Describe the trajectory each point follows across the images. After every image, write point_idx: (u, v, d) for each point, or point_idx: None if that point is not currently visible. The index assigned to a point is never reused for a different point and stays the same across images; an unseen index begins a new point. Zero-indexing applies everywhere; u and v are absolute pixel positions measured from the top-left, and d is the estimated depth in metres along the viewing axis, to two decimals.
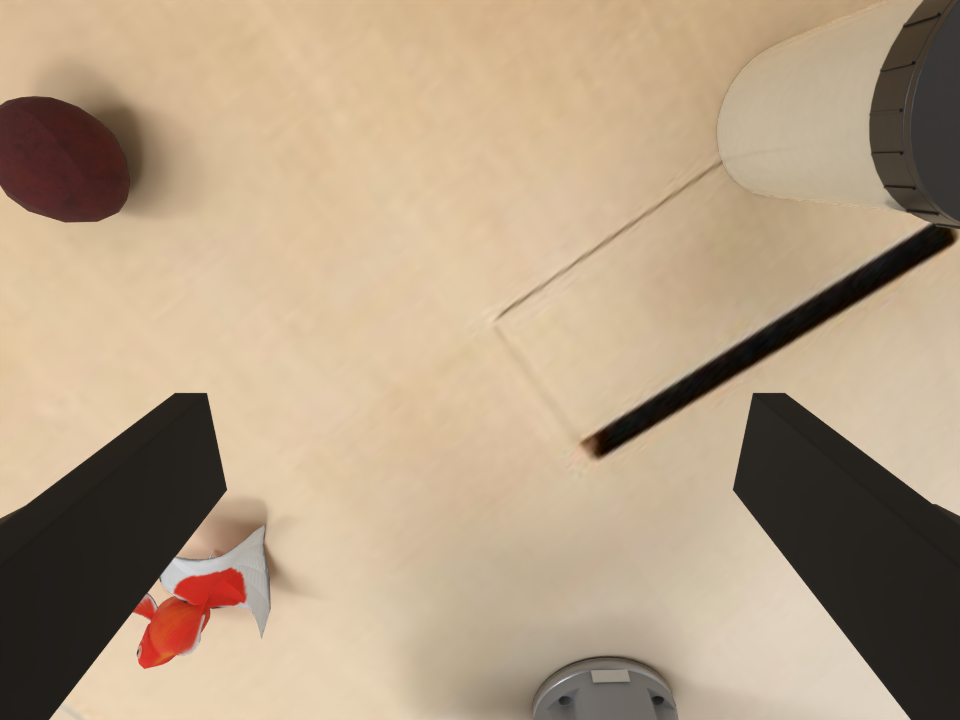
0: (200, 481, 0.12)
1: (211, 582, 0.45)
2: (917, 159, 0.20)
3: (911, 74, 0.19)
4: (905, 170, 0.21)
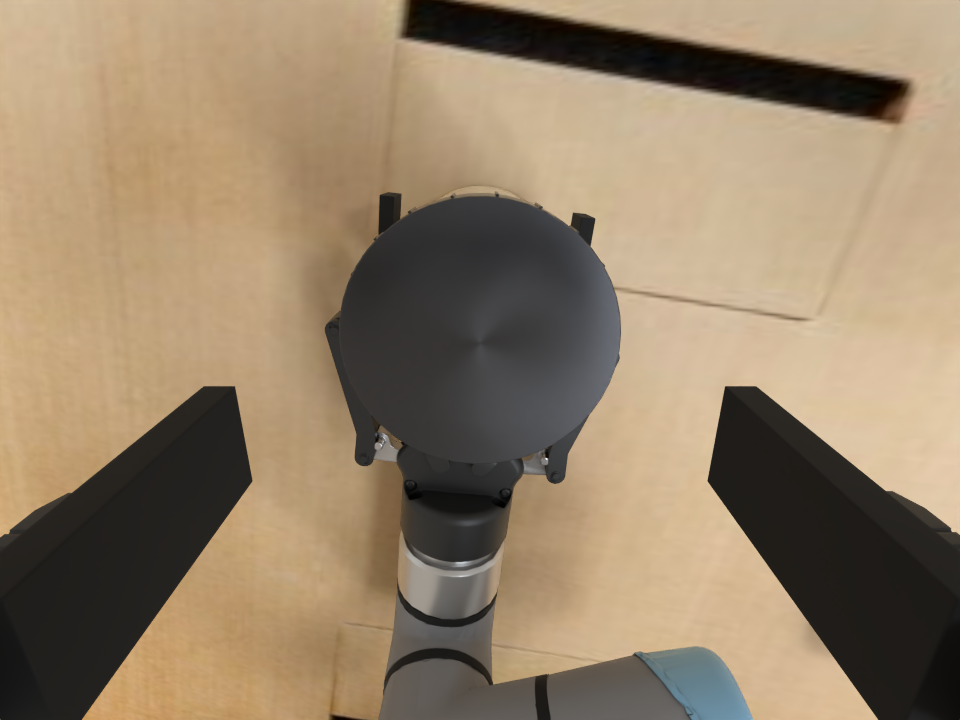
0: (229, 472, 0.12)
1: None
2: (607, 376, 0.20)
3: None
4: None
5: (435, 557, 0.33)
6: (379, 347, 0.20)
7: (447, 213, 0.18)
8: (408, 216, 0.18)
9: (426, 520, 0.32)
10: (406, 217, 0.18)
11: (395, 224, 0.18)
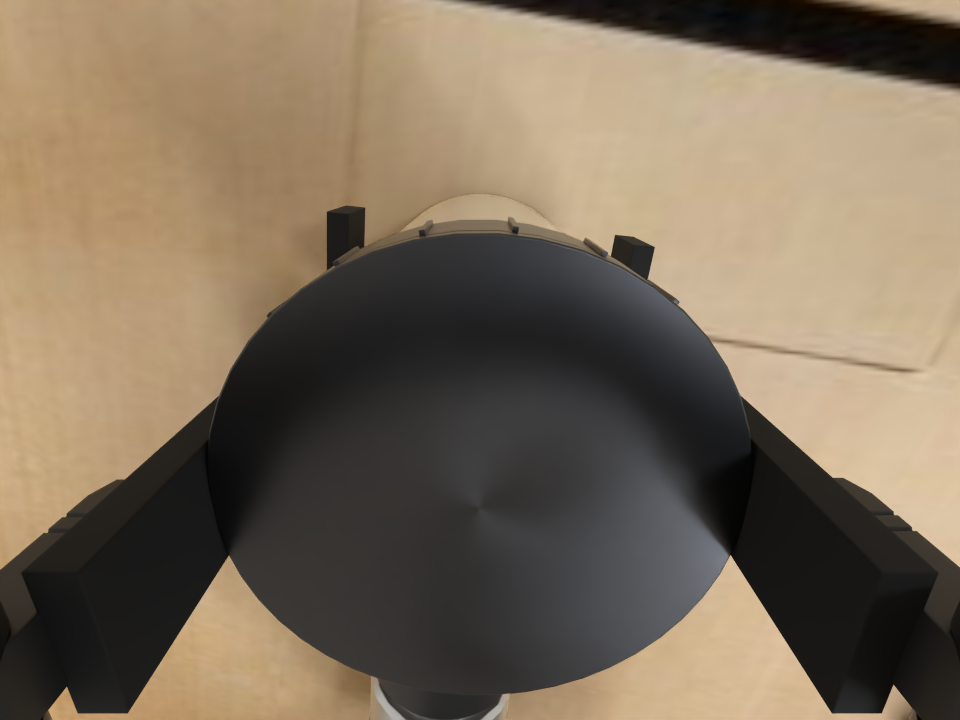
0: None
1: None
2: (717, 561, 0.11)
3: None
4: None
5: (417, 713, 0.24)
6: (287, 514, 0.10)
7: (411, 268, 0.09)
8: (329, 274, 0.09)
9: None
10: (325, 276, 0.09)
11: (303, 290, 0.09)
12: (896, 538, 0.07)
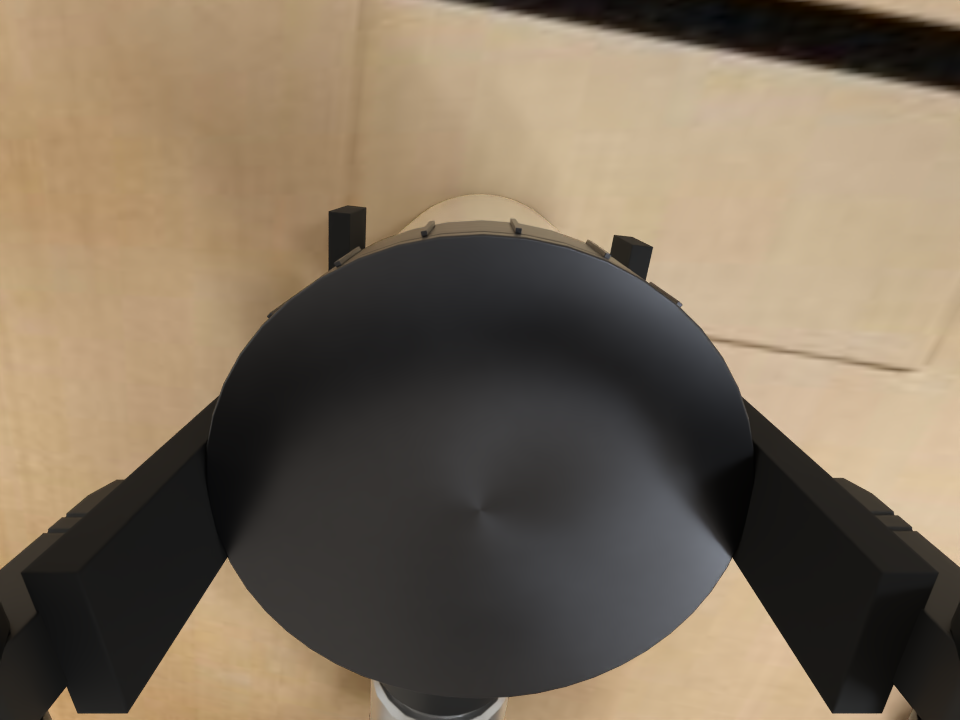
0: None
1: None
2: (588, 264, 0.08)
3: None
4: (566, 242, 0.09)
5: (417, 709, 0.24)
6: (473, 652, 0.12)
7: (241, 540, 0.10)
8: (251, 593, 0.11)
9: None
10: (253, 595, 0.11)
11: (265, 610, 0.11)
12: (896, 538, 0.07)
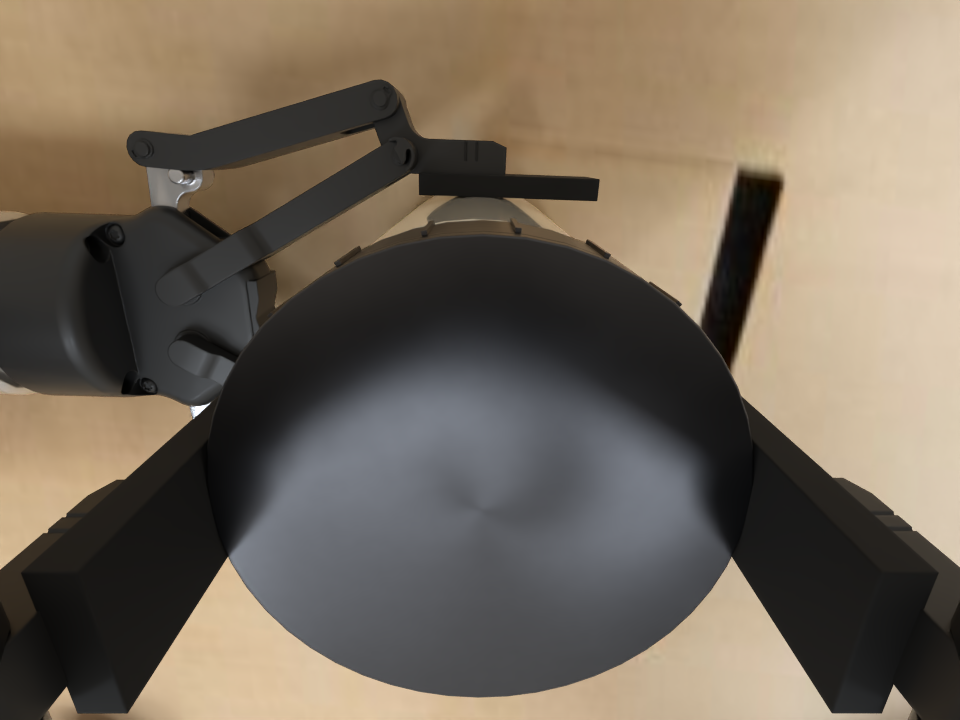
0: None
1: None
2: (588, 264, 0.09)
3: None
4: (566, 242, 0.09)
5: None
6: (473, 651, 0.12)
7: (241, 539, 0.10)
8: (251, 592, 0.11)
9: (53, 282, 0.18)
10: (253, 595, 0.11)
11: (265, 609, 0.11)
12: (895, 538, 0.07)
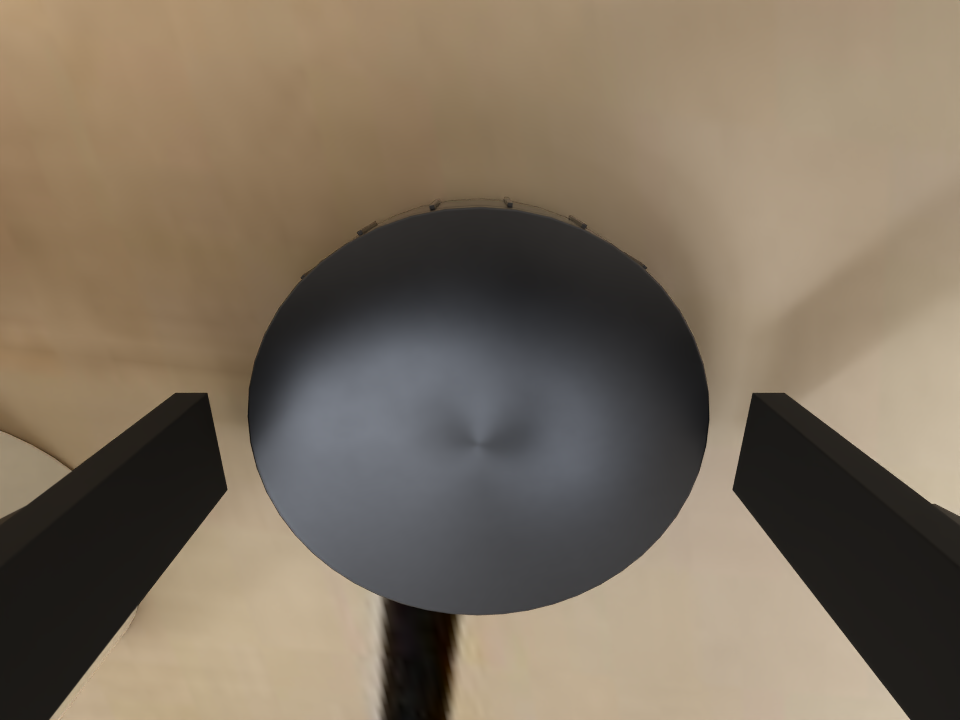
0: (200, 481, 0.12)
1: None
2: (567, 232, 0.10)
3: None
4: (550, 215, 0.11)
5: None
6: (473, 572, 0.13)
7: (276, 471, 0.12)
8: (283, 518, 0.13)
9: None
10: None
11: (295, 534, 0.13)
12: None
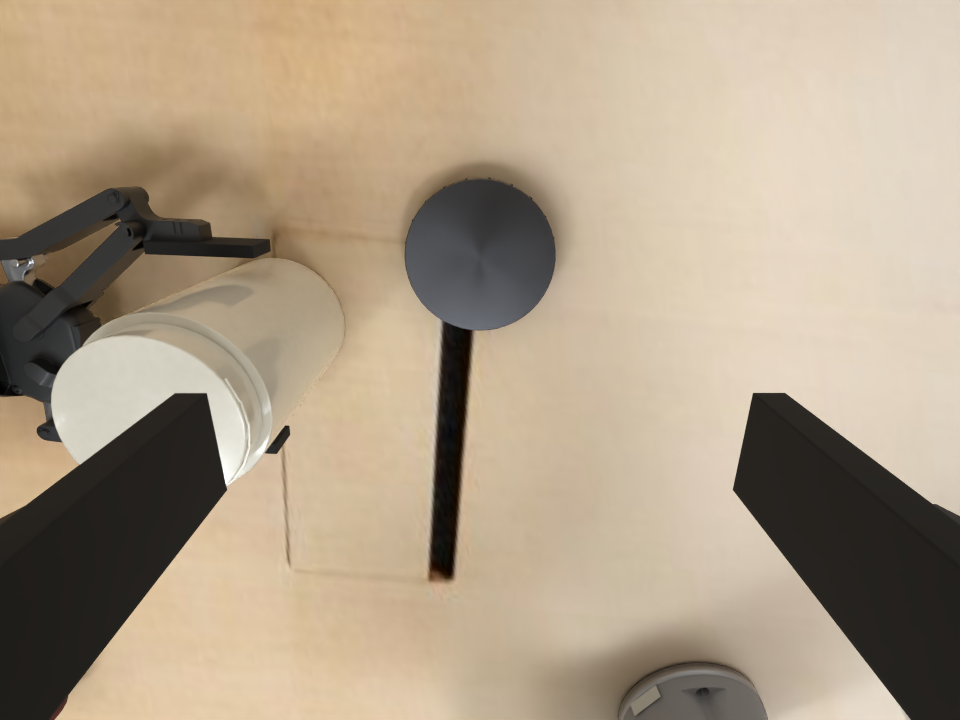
0: (200, 481, 0.12)
1: None
2: (506, 186, 0.35)
3: None
4: (501, 182, 0.35)
5: None
6: (478, 311, 0.38)
7: (412, 269, 0.37)
8: (413, 287, 0.37)
9: None
10: (413, 288, 0.37)
11: (416, 294, 0.37)
12: None
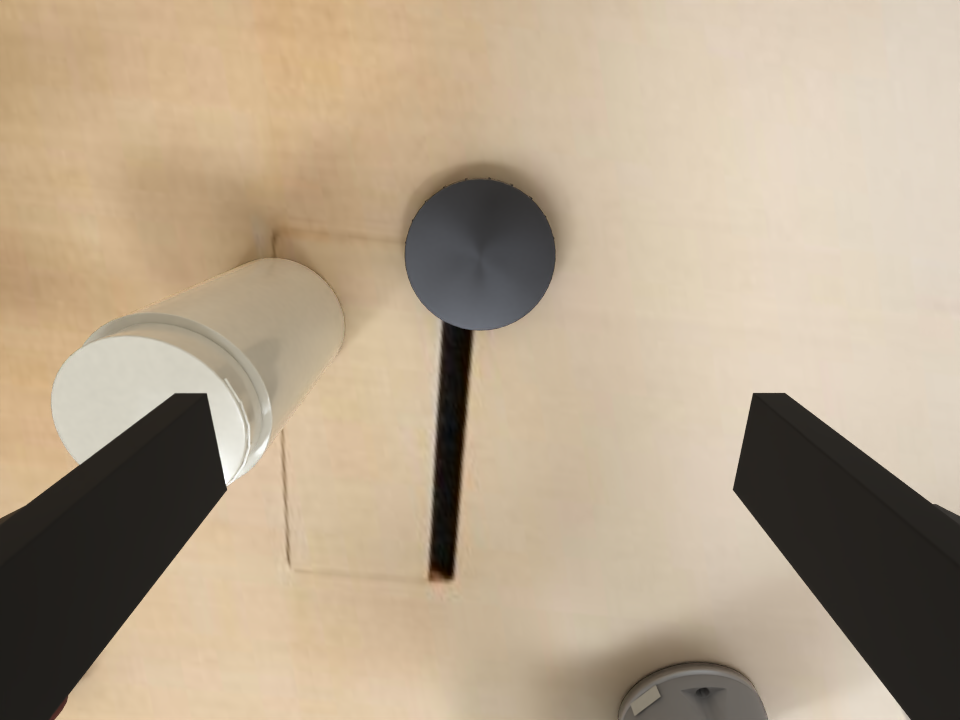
0: (200, 481, 0.12)
1: None
2: (506, 186, 0.35)
3: None
4: (501, 182, 0.35)
5: None
6: (478, 311, 0.38)
7: (412, 269, 0.37)
8: (413, 287, 0.37)
9: None
10: (413, 288, 0.37)
11: (416, 294, 0.37)
12: None
